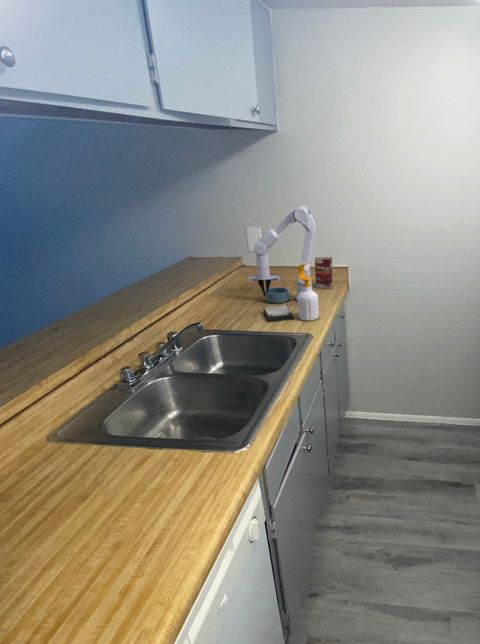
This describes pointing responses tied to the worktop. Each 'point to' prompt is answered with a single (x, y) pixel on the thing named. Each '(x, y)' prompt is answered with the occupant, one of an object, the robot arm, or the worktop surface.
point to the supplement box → (323, 272)
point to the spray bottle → (307, 298)
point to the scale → (277, 313)
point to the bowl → (277, 295)
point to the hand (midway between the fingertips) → (265, 295)
